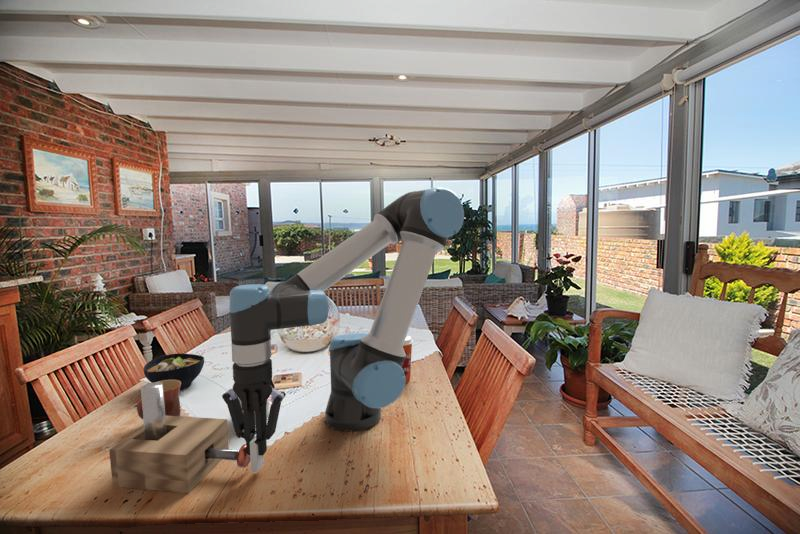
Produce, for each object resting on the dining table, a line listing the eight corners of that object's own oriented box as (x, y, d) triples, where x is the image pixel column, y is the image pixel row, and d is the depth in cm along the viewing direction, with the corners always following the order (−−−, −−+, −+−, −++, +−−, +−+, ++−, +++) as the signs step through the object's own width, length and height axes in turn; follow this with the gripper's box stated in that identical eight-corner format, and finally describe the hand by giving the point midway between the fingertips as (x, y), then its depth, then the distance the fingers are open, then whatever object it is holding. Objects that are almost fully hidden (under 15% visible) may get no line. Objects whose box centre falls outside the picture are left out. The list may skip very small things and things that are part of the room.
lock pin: (252, 459, 83) (251, 440, 83) (242, 472, 79) (240, 452, 78) (195, 455, 85) (194, 436, 84) (182, 467, 80) (180, 448, 80)
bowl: (190, 373, 137) (188, 346, 136) (215, 384, 127) (213, 355, 126) (136, 389, 124) (133, 360, 123) (159, 403, 114) (157, 371, 113)
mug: (164, 413, 108) (161, 378, 107) (191, 416, 106) (188, 380, 105) (126, 436, 96) (122, 397, 95) (155, 439, 94) (152, 400, 93)
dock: (229, 451, 89) (227, 419, 88) (188, 493, 75) (186, 455, 74) (163, 446, 91) (161, 415, 90) (112, 486, 77) (109, 449, 77)
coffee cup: (413, 385, 125) (413, 341, 123) (388, 385, 125) (387, 341, 123) (412, 375, 133) (412, 334, 132) (389, 375, 133) (388, 334, 132)
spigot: (171, 442, 85) (167, 382, 84) (158, 453, 81) (153, 390, 80) (155, 441, 86) (150, 381, 84) (141, 452, 82) (136, 389, 80)
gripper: (290, 355, 81) (294, 459, 84) (232, 353, 83) (238, 455, 85) (274, 368, 74) (279, 482, 76) (211, 365, 75) (218, 477, 78)
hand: (257, 468), depth 81 cm, fingers closed
